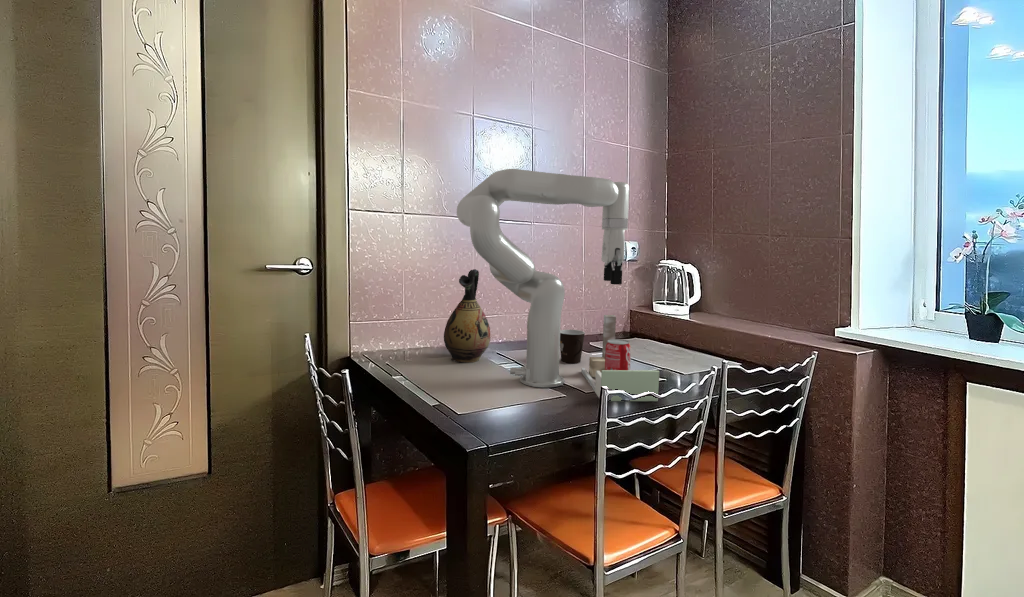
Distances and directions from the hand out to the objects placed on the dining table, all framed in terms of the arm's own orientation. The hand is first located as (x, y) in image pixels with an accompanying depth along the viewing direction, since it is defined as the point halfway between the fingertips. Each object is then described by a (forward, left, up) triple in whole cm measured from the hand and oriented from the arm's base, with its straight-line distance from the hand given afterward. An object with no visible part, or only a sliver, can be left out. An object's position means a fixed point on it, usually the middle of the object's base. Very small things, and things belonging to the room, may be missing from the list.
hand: (612, 282), depth 170 cm
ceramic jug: (-43, +19, -29) cm, 55 cm away
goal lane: (0, -11, -28) cm, 31 cm away
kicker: (0, -1, -28) cm, 28 cm away
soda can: (0, -12, -29) cm, 31 cm away
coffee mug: (-9, +15, -29) cm, 33 cm away
